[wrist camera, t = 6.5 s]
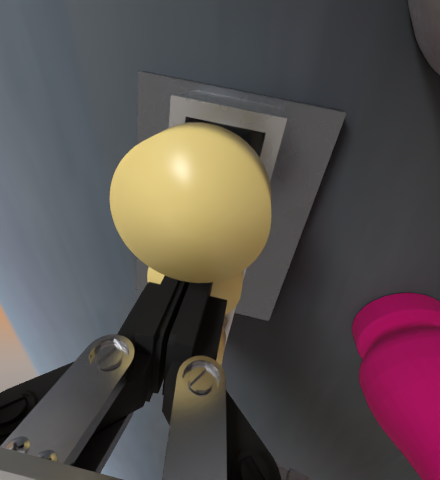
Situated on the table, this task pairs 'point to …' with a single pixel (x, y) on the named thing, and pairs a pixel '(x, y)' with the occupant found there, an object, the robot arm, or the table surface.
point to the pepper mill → (403, 374)
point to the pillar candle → (427, 29)
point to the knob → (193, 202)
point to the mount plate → (271, 154)
